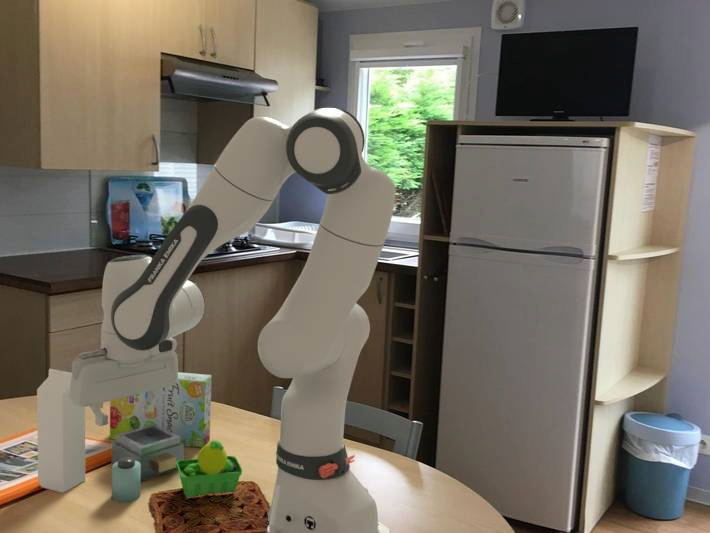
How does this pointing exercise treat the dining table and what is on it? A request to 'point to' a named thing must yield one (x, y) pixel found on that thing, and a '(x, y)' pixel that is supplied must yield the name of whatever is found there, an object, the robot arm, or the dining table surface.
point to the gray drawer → (149, 450)
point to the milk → (59, 434)
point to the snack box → (169, 410)
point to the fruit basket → (209, 471)
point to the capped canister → (126, 480)
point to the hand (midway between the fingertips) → (125, 418)
